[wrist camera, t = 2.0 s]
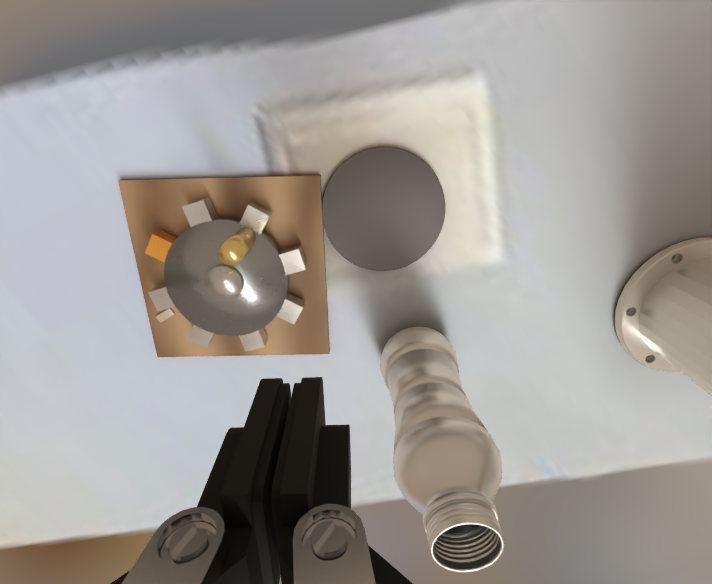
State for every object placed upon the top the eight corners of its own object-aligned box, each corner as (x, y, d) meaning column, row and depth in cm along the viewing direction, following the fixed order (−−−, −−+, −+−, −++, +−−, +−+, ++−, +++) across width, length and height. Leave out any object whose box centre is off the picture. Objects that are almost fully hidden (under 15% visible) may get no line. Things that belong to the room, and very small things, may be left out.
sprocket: (303, 194, 34) (291, 209, 28) (313, 342, 38) (305, 380, 33) (137, 198, 34) (92, 213, 28) (168, 345, 39) (135, 383, 33)
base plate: (320, 175, 34) (319, 176, 33) (329, 351, 40) (329, 354, 39) (121, 179, 34) (116, 180, 33) (159, 354, 40) (156, 358, 39)
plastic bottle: (372, 325, 39) (387, 511, 20) (446, 311, 38) (531, 489, 20) (386, 384, 41) (410, 599, 22) (455, 371, 40) (539, 581, 22)
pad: (447, 145, 33) (448, 145, 32) (440, 267, 37) (442, 269, 36) (319, 148, 33) (318, 149, 33) (325, 270, 37) (325, 272, 36)
